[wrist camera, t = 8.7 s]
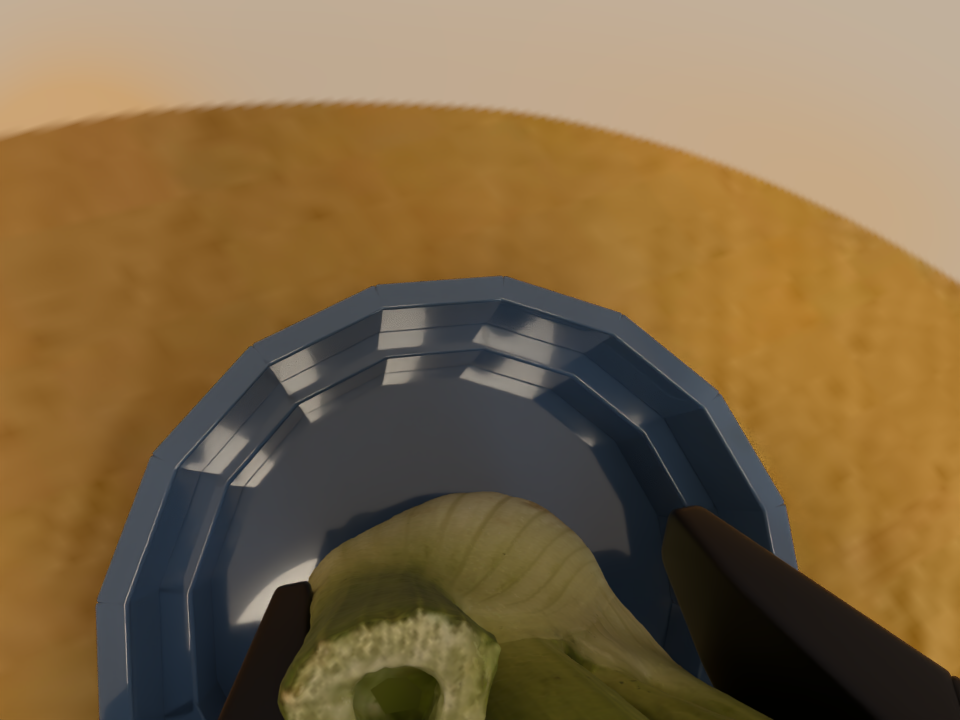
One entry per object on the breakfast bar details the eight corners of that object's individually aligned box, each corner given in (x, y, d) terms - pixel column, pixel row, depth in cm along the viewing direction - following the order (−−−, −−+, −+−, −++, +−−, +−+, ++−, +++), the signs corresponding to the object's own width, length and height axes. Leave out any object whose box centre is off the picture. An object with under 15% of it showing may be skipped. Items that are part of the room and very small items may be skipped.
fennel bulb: (285, 581, 15) (113, 795, 3) (463, 433, 16) (776, 224, 5) (460, 803, 14) (941, 1884, 3) (625, 634, 16) (1381, 930, 4)
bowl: (792, 537, 18) (915, 549, 14) (499, 1022, 15) (551, 1213, 11) (410, 228, 17) (425, 152, 14) (33, 654, 14) (-88, 714, 10)
